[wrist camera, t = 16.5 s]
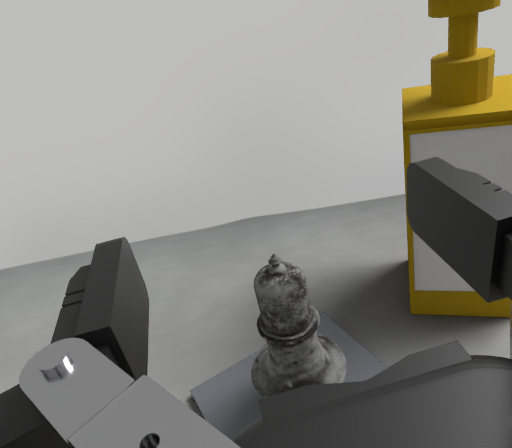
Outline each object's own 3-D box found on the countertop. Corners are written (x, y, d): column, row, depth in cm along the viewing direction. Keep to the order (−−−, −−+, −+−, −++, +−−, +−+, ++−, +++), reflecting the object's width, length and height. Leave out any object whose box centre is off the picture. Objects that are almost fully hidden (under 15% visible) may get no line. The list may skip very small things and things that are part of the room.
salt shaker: (299, 355, 32) (269, 215, 26) (369, 394, 28) (354, 240, 22) (243, 413, 29) (195, 268, 23) (314, 466, 25) (278, 308, 19)
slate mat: (278, 555, 22) (276, 549, 22) (192, 396, 32) (190, 390, 31) (446, 423, 26) (446, 417, 26) (324, 318, 36) (323, 312, 35)
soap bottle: (487, 224, 42) (506, -62, 30) (515, 317, 32) (560, -61, 20) (408, 227, 44) (397, -37, 33) (410, 313, 34) (396, -26, 22)
